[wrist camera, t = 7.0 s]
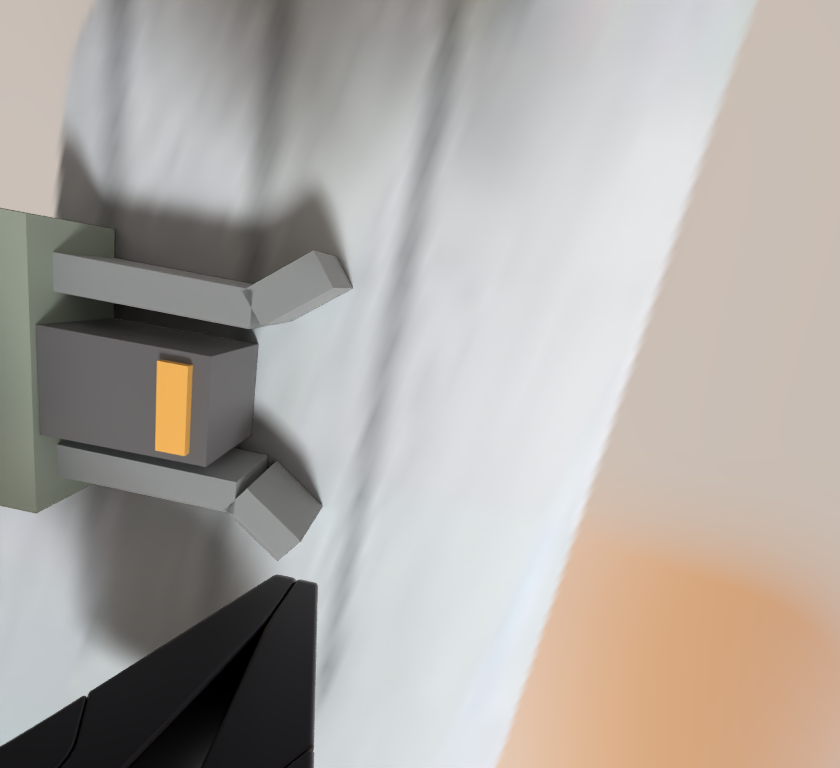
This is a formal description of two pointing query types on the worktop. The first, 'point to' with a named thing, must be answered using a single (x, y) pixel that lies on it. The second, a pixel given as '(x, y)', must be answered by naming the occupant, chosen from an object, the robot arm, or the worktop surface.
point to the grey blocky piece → (94, 299)
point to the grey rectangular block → (145, 388)
